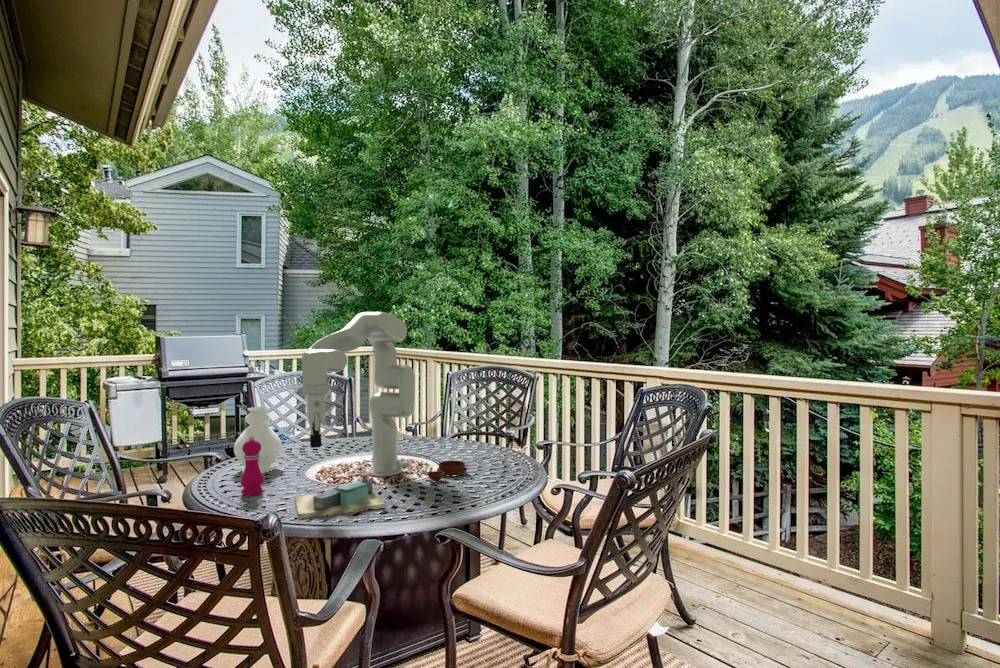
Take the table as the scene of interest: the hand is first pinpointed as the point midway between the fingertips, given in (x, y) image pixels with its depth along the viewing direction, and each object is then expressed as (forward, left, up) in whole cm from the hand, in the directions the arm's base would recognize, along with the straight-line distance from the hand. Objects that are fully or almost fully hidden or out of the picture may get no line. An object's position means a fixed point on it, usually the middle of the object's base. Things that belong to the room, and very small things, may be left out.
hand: (315, 446), depth 190 cm
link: (-9, +2, -17) cm, 20 cm away
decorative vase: (+17, -59, -19) cm, 64 cm away
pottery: (-49, -19, -20) cm, 56 cm away
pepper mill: (+19, -24, -19) cm, 36 cm away
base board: (-7, +1, -19) cm, 20 cm away
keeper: (-11, +5, -18) cm, 21 cm away
